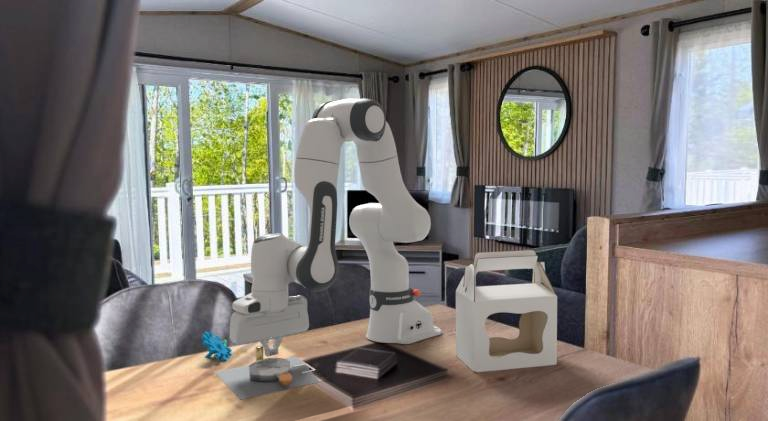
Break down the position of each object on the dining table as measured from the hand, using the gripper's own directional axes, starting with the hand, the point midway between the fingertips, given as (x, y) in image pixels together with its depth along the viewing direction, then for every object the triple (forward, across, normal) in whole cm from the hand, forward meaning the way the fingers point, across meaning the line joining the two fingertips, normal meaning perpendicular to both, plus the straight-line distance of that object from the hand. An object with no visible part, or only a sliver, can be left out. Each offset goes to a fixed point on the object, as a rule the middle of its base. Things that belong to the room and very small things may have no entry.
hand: (271, 355), depth 145 cm
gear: (+4, +8, -15) cm, 17 cm away
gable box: (+4, -48, +33) cm, 59 cm away
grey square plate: (+3, +4, +7) cm, 9 cm away
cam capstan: (+2, +4, +8) cm, 9 cm away
